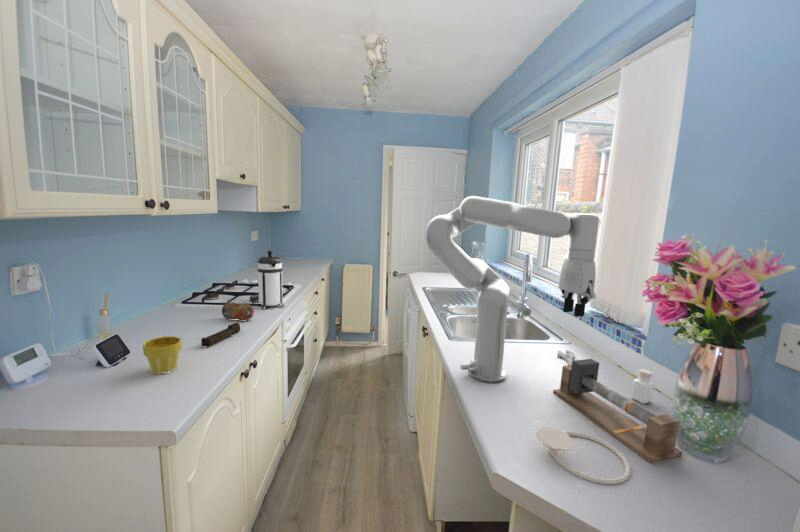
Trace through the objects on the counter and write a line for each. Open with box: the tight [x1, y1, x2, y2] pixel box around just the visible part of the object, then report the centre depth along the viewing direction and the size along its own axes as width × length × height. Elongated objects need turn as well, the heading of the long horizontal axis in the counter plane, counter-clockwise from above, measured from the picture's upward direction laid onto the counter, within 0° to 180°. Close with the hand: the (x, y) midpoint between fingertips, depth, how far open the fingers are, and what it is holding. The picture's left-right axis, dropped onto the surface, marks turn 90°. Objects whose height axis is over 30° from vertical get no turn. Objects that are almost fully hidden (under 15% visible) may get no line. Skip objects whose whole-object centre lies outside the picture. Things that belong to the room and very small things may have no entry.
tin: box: [221, 302, 255, 322], centre depth 168 cm, size 15×3×8 cm, turn 80°
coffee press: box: [256, 250, 285, 308], centre depth 191 cm, size 17×16×30 cm
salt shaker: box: [630, 368, 654, 405], centre depth 109 cm, size 4×4×10 cm
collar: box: [569, 358, 600, 394], centre depth 107 cm, size 7×3×9 cm, turn 107°
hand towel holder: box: [535, 426, 631, 485], centre depth 83 cm, size 17×4×21 cm
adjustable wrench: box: [557, 350, 576, 365], centre depth 132 cm, size 25×6×2 cm, turn 163°
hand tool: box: [201, 322, 241, 348], centre depth 145 cm, size 19×4×5 cm, turn 161°
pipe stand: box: [552, 364, 683, 464], centre depth 98 cm, size 10×32×9 cm, turn 17°
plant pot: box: [142, 335, 183, 373], centre depth 116 cm, size 10×10×10 cm
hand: (573, 313), depth 110 cm, fingers open, 3 cm apart
